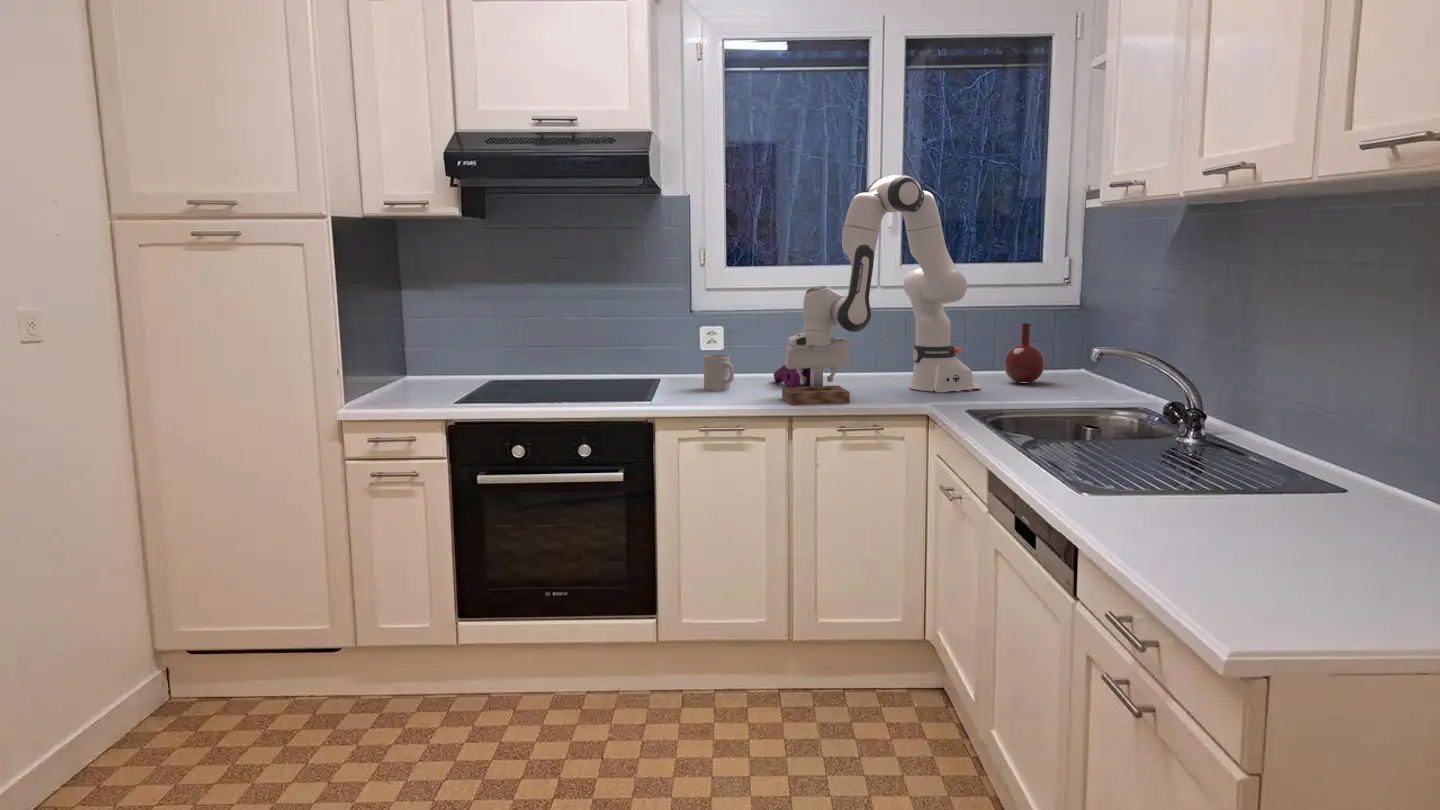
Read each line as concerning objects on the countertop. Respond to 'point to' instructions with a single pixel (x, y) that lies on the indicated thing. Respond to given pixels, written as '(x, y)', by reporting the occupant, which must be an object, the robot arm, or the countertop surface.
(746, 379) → the countertop surface
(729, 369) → the mug
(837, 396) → the well block
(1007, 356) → the round-bottom flask
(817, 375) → the angle bracket
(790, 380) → the mounting bracket
